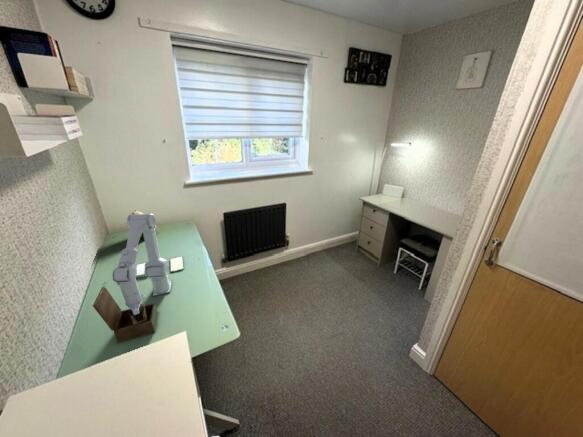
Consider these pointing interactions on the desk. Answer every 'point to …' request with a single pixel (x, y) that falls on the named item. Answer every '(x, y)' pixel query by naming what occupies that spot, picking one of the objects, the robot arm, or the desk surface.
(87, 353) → the desk surface
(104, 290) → the box lid
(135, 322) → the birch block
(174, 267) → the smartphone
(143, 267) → the hard drive
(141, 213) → the owl
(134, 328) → the keepsake box
